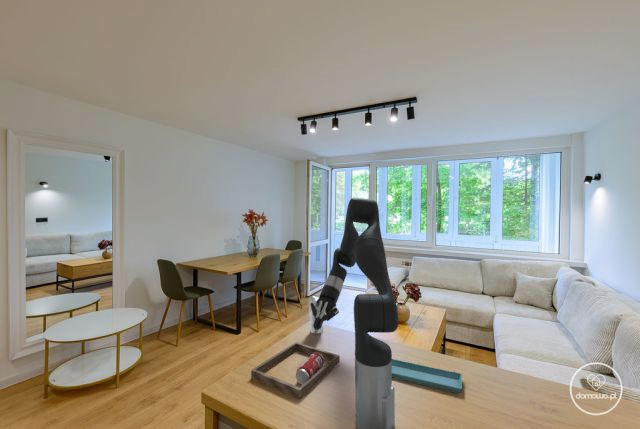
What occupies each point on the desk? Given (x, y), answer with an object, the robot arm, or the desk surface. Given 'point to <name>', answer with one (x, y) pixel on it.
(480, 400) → the desk surface
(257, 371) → the walnut frame
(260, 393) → the desk surface
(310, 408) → the desk surface
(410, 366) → the shallow long dish
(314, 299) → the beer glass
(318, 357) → the soda can
